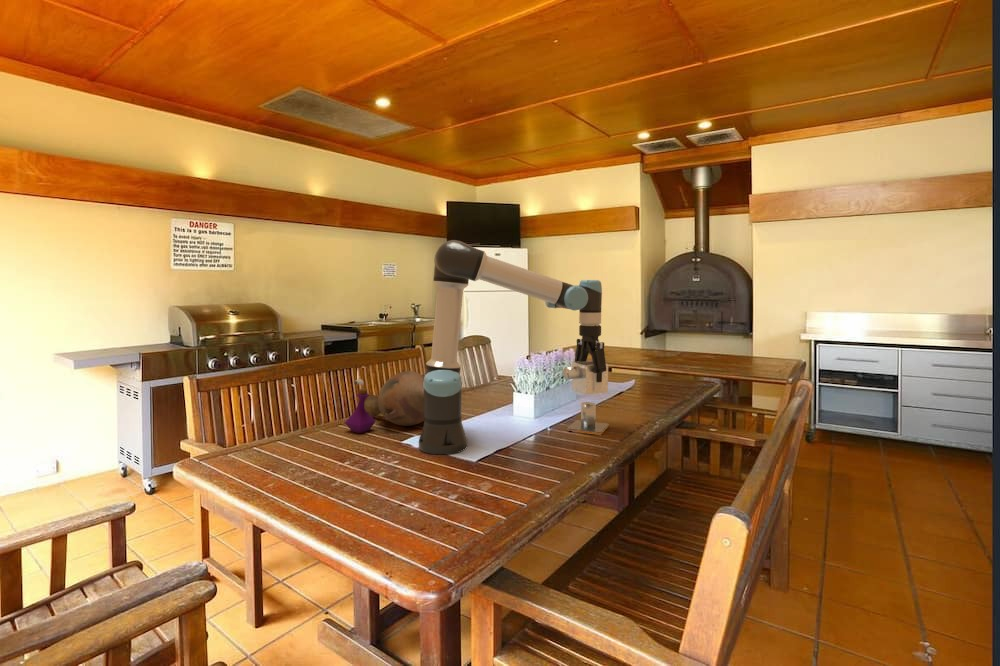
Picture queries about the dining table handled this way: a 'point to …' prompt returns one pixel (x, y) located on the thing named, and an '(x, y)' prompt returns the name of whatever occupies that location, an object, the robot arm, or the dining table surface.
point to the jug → (399, 399)
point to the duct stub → (588, 419)
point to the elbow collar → (585, 377)
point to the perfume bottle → (360, 413)
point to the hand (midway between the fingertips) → (589, 388)
